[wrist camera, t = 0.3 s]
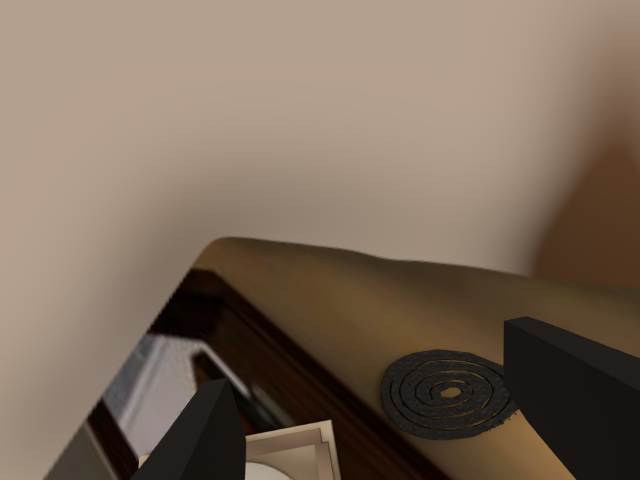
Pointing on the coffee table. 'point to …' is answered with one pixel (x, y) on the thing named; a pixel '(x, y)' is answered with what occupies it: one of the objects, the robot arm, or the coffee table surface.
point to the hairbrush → (421, 392)
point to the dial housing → (295, 451)
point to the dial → (264, 472)
